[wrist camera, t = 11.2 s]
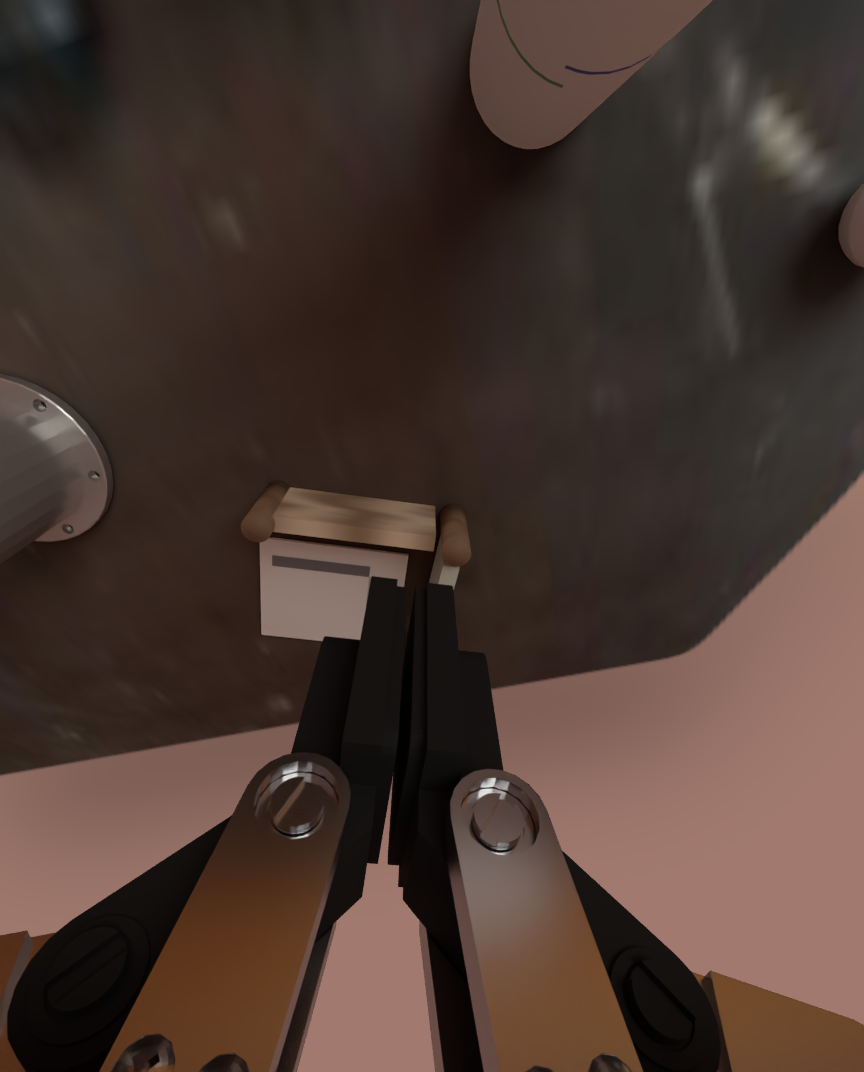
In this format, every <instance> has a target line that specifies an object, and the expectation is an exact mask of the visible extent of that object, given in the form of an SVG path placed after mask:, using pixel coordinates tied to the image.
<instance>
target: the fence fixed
mask: <svg viewBox="0 0 864 1072" xmlns="http://www.w3.org/2000/svg"><path fill="white" fill-rule="evenodd" d="M440 526H441V545H442V557H443V560H444V561H445V562H446V563H447V564H449V565H451V566H462V565H464V564H466V563H467V562H468V561H469V559H470V557H471V548H470V542H469V535H468V529H467V523H466V516H465V511H464V509H463V508H462V507H461V506H459V505H457V504H449V505H446V506H445V507H443V509H442V510H441V512H440ZM241 532H242V534H243V535H244V536H245V537H246V538H247V539H248V540H250V541H252V542H258V543H259V542H264V541H266V540H267V539H268V538H269V537H270V536H271V534H272V532H279V533H287V534H295V535H303V536H312V537H320V538H328V539H336V540H344V541H352V542H360V543H369V544H377V545H385V546H393V547H401V548H409V549H417V550H426V551H434V545H435V539H436V523H435V506H431V505H423V504H415V503H408V502H400V501H392V500H384V499H377V498H369V497H361V496H354V495H346V494H338V493H331V492H323V491H315V490H308V489H300V488H292V487H290V486H289V485H288V484H286V483H284V482H282V481H274V482H271V483H270V484H269V485H268V486H267V488H266V489H265V490H264V492H263V493H262V495H261V496H260V497H259V499H258V500H257V502H256V503H255V504H254V506H253V507H252V508H251V510H250V511H249V513H248V514H247V515H246V517H245V518H244V520H243V521H242V523H241Z"/></svg>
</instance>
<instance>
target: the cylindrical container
mask: <svg viewBox="0 0 864 1072" xmlns="http://www.w3.org/2000/svg"><path fill="white" fill-rule="evenodd" d="M711 1H712V0H481V3H480V7H479V12H478V17H477V22H476V27H475V32H474V37H473V42H472V48H471V55H470V82H471V89H472V94H473V97H474V101H475V104H476V107H477V109H478V111H479V113H480V115H481V117H482V119H483V121H484V123H485V124H486V125H487V126H488V128H489V129H490V130H491V131H492V133H493V134H495V135H496V136H497V137H498V138H500V139H501V140H502V141H503V142H505V143H508V144H510V145H512V146H514V147H518V148H523V149H539V148H542V147H546V146H550V145H552V144H554V143H555V142H557V141H559V140H561V139H563V138H564V137H565V136H566V135H568V134H569V133H570V132H571V131H572V130H574V129H575V128H576V127H577V126H578V125H579V124H580V123H581V122H582V121H583V120H584V119H585V118H586V117H587V116H589V115H590V114H591V113H592V112H593V111H594V110H595V109H596V108H597V107H598V106H599V105H600V104H601V103H602V102H603V101H605V100H606V99H607V98H608V97H609V96H610V95H611V94H612V93H613V92H614V91H615V90H616V89H618V88H619V87H620V86H621V85H622V84H623V83H624V82H625V81H626V80H627V79H628V78H629V77H631V76H632V75H633V74H634V73H635V72H636V71H637V70H638V69H639V68H640V67H641V66H642V65H644V64H645V63H646V62H647V61H648V60H649V59H650V58H651V57H652V56H653V55H654V54H655V53H657V52H658V51H659V50H660V49H661V48H662V47H663V46H664V45H665V44H666V43H667V42H668V41H669V40H670V39H672V38H673V37H674V36H675V35H676V34H677V33H678V32H679V31H680V30H681V29H682V28H683V27H685V26H686V25H687V24H688V23H689V22H690V21H691V20H692V19H693V18H694V17H695V16H696V15H697V14H698V13H700V12H701V11H702V10H703V9H704V8H705V7H706V6H707V5H708V4H709V3H710V2H711Z"/></svg>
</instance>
